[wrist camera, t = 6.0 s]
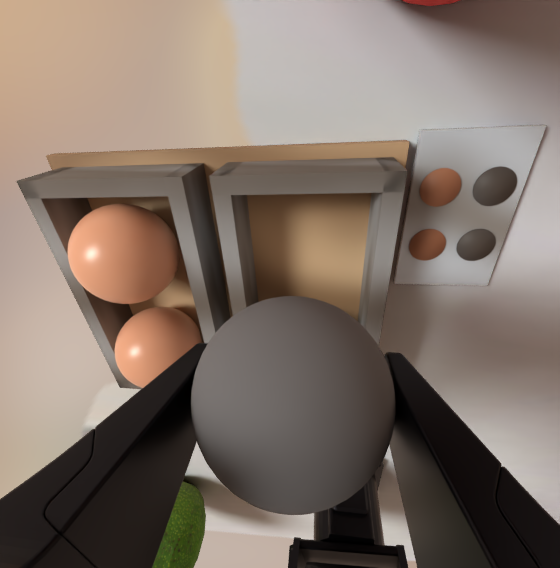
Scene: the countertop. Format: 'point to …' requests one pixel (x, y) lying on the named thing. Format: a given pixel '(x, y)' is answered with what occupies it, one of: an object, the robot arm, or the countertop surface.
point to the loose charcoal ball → (293, 405)
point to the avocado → (183, 531)
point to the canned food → (430, 2)
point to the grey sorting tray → (296, 219)
